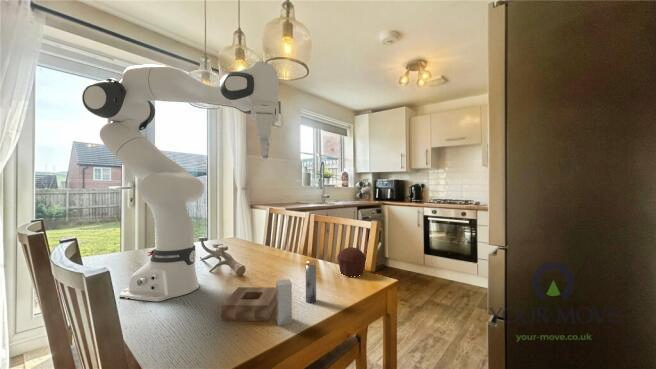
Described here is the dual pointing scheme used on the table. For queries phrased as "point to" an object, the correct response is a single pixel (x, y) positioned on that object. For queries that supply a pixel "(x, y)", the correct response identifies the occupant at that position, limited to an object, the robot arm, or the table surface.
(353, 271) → the muffin
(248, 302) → the socket block
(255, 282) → the table surface
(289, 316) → the square bit
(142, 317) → the table surface
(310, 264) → the round bit
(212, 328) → the table surface
